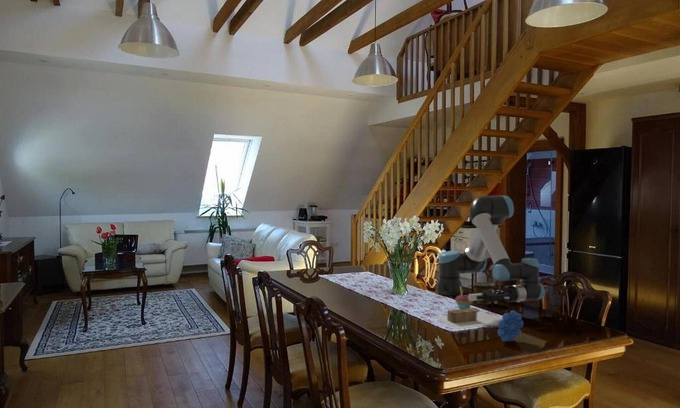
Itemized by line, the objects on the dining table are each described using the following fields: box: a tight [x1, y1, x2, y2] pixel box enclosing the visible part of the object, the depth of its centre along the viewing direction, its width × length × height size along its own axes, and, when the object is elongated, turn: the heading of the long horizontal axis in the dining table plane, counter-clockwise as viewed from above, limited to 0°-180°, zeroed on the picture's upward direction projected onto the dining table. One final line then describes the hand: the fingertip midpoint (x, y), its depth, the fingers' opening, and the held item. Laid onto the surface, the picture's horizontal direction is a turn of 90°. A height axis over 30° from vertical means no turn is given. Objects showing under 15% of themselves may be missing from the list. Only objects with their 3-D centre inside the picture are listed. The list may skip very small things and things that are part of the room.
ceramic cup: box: [467, 281, 495, 305], centre depth 248 cm, size 13×10×10 cm
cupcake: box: [454, 286, 474, 309], centre depth 235 cm, size 9×8×12 cm
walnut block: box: [446, 307, 478, 323], centre depth 213 cm, size 5×4×12 cm
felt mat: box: [434, 311, 503, 330], centre depth 215 cm, size 20×26×1 cm
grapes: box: [496, 310, 525, 342], centre depth 186 cm, size 12×7×12 cm, turn 109°
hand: (469, 297), depth 214 cm, fingers closed
